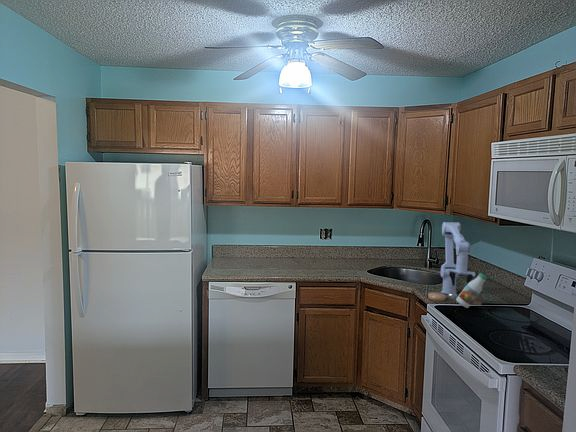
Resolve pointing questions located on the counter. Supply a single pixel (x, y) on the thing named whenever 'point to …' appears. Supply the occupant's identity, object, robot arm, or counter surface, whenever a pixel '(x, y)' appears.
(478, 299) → the walnut cube
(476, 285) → the milk bottle
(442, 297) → the tan round disc
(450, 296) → the grey tin
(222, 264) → the counter surface
